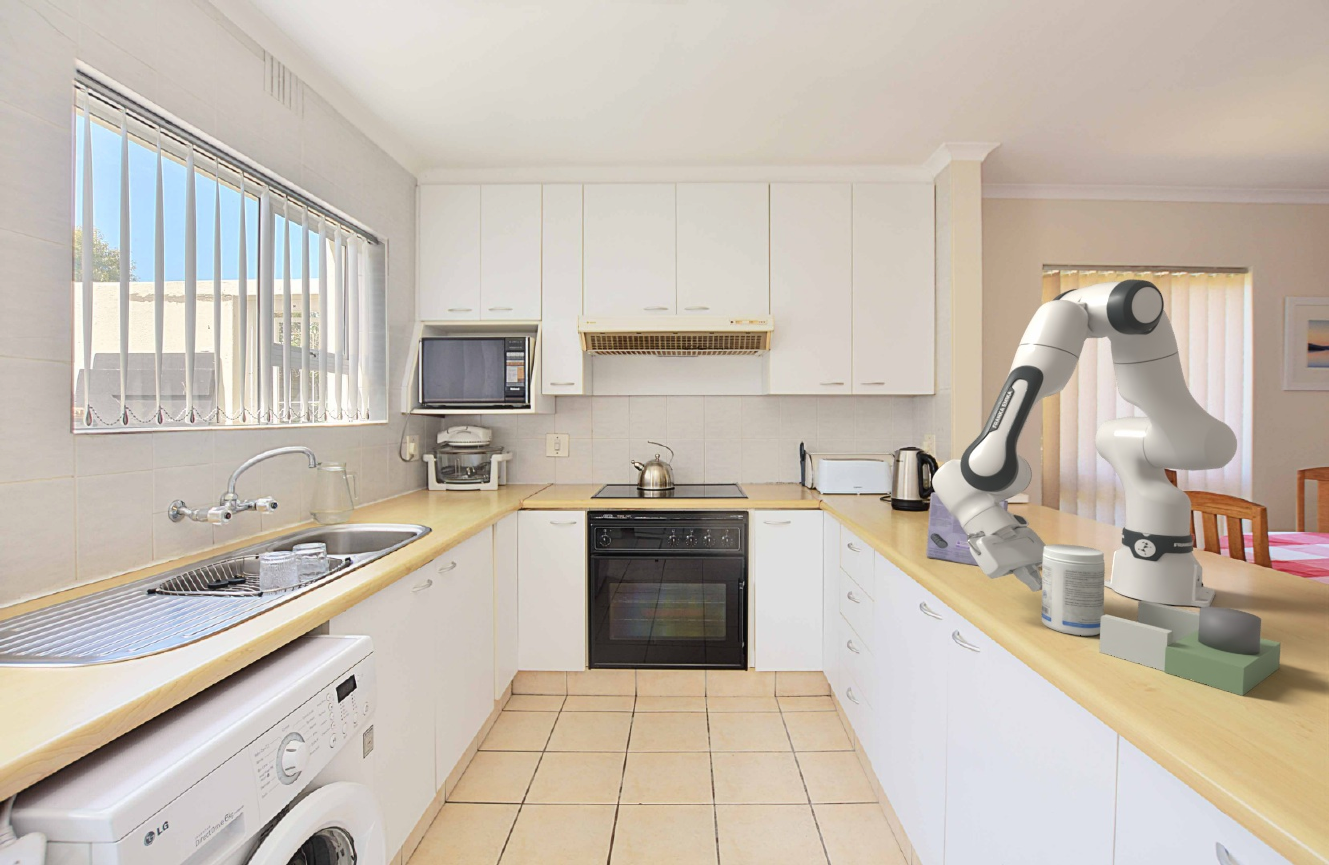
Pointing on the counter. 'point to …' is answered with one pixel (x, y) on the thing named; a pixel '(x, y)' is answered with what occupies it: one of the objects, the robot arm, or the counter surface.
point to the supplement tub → (1073, 589)
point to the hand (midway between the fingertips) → (1040, 589)
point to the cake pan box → (948, 534)
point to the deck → (1194, 644)
